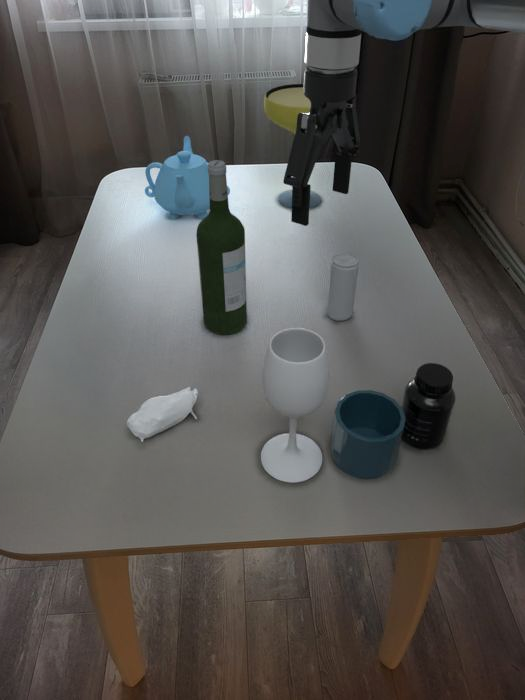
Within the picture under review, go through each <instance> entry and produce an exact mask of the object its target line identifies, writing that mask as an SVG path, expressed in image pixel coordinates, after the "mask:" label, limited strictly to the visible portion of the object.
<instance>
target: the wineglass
mask: <svg viewBox="0 0 525 700" xmlns="http://www.w3.org/2000/svg"><path fill="white" fill-rule="evenodd" d="M265 352H266V353H265V355H264V360H263V366H262V389H263V394H264V397H265V399H266V401H267V404H268V405H269V406H270V407H271V408H272V409H273V410H275V412H277V413H278V414H280V415H281V416H284V417H287V418H289V419H288V420H289V432H288V433H281V434H278V435H276V436H273V437H272V438H270V439H269V440H268V441H267V442H265V444H264V445H263V447H262V449H261V452H260V462H261V465H262V467H263V469H264V470H265V471H266V473H267V474H268V475H269V476H271V477H272V478H274V479H276V480H278V481H280V482H283V483H291V484H293V483H295V484H296V483H301V482H305V481H308V480H310V479H311V478H313V477H314V476H315V475H316V474H317V473H318V472H319V471H320V470H321V467H322V464H323V453H322V450H321V448H320V447H319V445H318V444H317V443H316V442H315V441H314V440H313V439H312V438H309V437H308V436H306V435H303V434H299V433H297V428H298V419H299V418H304V417H307V416H309V415H311V414H313V413H314V412H316V411H317V410H318V409H319V408H320V407H321V406H322V405H323V403H324V401H325V398H326V396H327V393H328V388H329V382H330V362H329V355H328V350H327V345H326V342H325V340H324V339H323V338H322V336H321V335H320V334H319V333H317V332H315V331H313V330H310V329H308V328H303V327H289V328H285V329H282V330H280V331H278V332H276V333H275V334H274V335H273V336H272V337H271V338H270V340H269V343H268V345H267V349H266V351H265Z"/></svg>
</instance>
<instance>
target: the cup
mask: <svg viewBox="0 0 525 700" xmlns="http://www.w3.org/2000/svg"><path fill="white" fill-rule="evenodd" d="M401 406H402V405H400V403H398V402H397V400H395V398H393V397H391V396H389V395H388V394H385V393H383V392H381V391H376V390H371V389H361V390H355V391H351V392H349V393H346V394H345V395H344V396H342V397H341V398H340V399H339V400H338V401H337V403H336V406H335V409H334V416H333V422H332V423H333V424H332V432H331V439H330V440H331V441H330V454H331V459H332V460H333V462H334V464H335V465H336V467H338V468H339V469H340V470H341V471H342V472H344V473H345V474H347V475H349V476H351V477H354V478H357V479H362V480H373V479H378V478H381V477H383V476H385V475H387V474H388V473H389V472H390V471H391V470H392V469H393V468H394V466H395V465H396V461H397V456H398V454H399V453H398V452H399V449H400V445H401V441H402V439H401V437H402V433H403V429H404V425H405V420H406V418H405V414H404V411H403V408H402V407H401Z"/></svg>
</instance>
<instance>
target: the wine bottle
mask: <svg viewBox="0 0 525 700" xmlns="http://www.w3.org/2000/svg"><path fill="white" fill-rule="evenodd" d="M208 163H209V165H208V173H209V197H210V209H209V210H208V215H206V216H205V217H204V218H201V220H200V221H199V223H198V225H197V227H196V235H195V236H196V248H197V258H198V270H199V282H200V292H201V294H200V295H201V305H202V314H203V315H202V316H203V324H204V327H205V328H206V329H207V330H208V331H209V332H211V333H213V334H215V335H218V336H219V335H220V336H230V335H235V334H236V333H239V332H241V331H242V330H243V329H244V328H245V327H246V325H247V323H248V310H247V306H248V305H247V269H246V265H247V264H246V232H245V231H246V230H245V226H244V224H243V223H242V222H241V220H240V219H239V218H238V217H237V216H236V215H234V214H233V213H232V212H231V210H230V205H229V195H228V192H227V186H228V183H227V165H226V162H225V161H223V160H222V159H221V160H219V159H214V160H211V161H209V162H208Z"/></svg>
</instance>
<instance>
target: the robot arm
mask: <svg viewBox="0 0 525 700" xmlns="http://www.w3.org/2000/svg"><path fill="white" fill-rule="evenodd" d="M305 23H306V25H305V27H306V28H305V35H306V36H305V38H304V44H305V52H304V63H305V65H306V67H305V69H303V70H304V71H303V84H304V86H303V93H304V95H305V97H306V98H308V99H309V100H310V102H311V107H310V111H309V114H304V113H299V114H298V117H297V126H296V133H295V134H294V136H293V141H292V144H291V148H290V153H289V156H288V161H287V164H286V169H285V173H284V176H283V184H284V185H287V186H291V187H292V189H291V190H292V209H291V221H290V222H291V223H294V224H298V225H300V226H304V227H307V226H308V225H309V223H310V222H309V221H310V209H309V206H310V191H311V187H312V186H311V185H312V184H309V181H310V178H311V176H312V174H313V171H314V167H315V165H316V162H317V160H318V158H319V155H320V152H321V150H322V148H323V146H324V145H326V144H327V142H328V139H329V138H330V137H331V135H332V138H333V140H334V143H335V145H336V147H337V150H338V152H336V153H335V155H334V156H335V157H334V167H333V179H332V191H333V192H337V193H339V194H344V195H348V194H349V189H350V181H351V180H350V179H351V172H352V171H351V170H352V161H353V155H354V156H357V155H358V154H359V152H360V147H359V146H360V144H361V137H360V129H359V122H358V113H357V93H356V91H357V90H356V89H357V81H358V70H357V68H356V67H357V66H358V65H359V63H360V53H361V52H360V51H361V40H362V32H364V33H366V34H368V36H370V37H374V38H376V39H379V40H389V41H396V42H397V41H402V40H405V39H408V38H409V37H411V36H412V35H413V34H414V33H416V32H417V31H418V30H419V31H421V30H428V29H436V28H445V27H468V28H469V27H470V28H476V29H489V30H490V29H491V30H496V31H504V32H512V33H517V34H525V0H306V21H305Z"/></svg>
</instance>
